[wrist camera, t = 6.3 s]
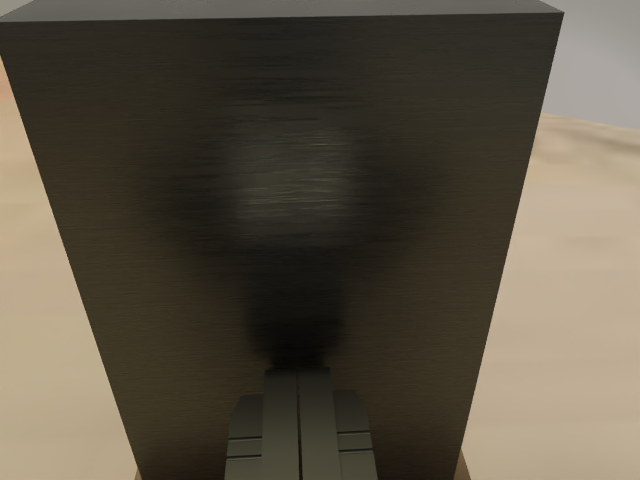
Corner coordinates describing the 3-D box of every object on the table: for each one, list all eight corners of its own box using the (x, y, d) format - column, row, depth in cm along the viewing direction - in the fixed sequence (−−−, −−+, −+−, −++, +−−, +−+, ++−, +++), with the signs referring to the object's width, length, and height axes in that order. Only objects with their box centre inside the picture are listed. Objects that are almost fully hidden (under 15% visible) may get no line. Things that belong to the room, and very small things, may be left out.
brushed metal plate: (449, 497, 16) (564, 12, 9) (153, 515, 16) (-11, 21, 8) (405, 336, 22) (449, -42, 14) (187, 346, 22) (110, -37, 14)
